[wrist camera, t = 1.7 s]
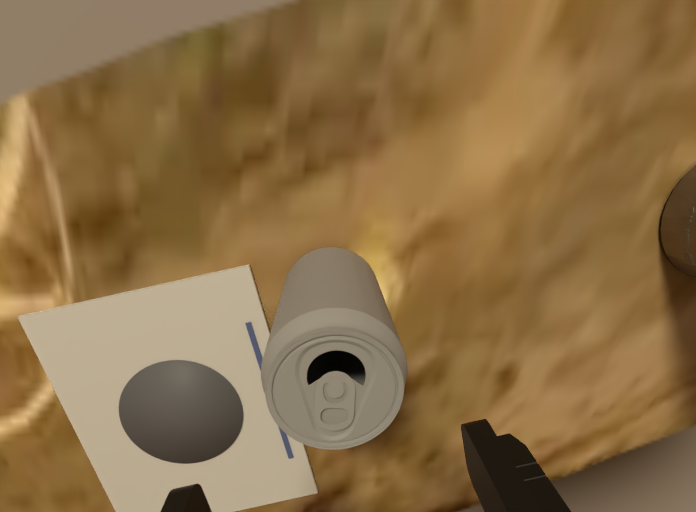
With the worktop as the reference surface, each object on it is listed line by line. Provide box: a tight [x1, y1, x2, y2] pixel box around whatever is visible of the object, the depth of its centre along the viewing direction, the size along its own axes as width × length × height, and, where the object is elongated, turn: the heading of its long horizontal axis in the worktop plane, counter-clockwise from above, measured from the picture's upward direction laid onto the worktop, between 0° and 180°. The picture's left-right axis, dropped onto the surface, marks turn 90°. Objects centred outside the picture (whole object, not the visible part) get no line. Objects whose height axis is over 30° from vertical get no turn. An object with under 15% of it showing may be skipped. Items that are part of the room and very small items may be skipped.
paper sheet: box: [18, 264, 318, 512], centre depth 29 cm, size 16×20×1 cm
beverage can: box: [261, 247, 407, 450], centre depth 21 cm, size 6×6×12 cm
